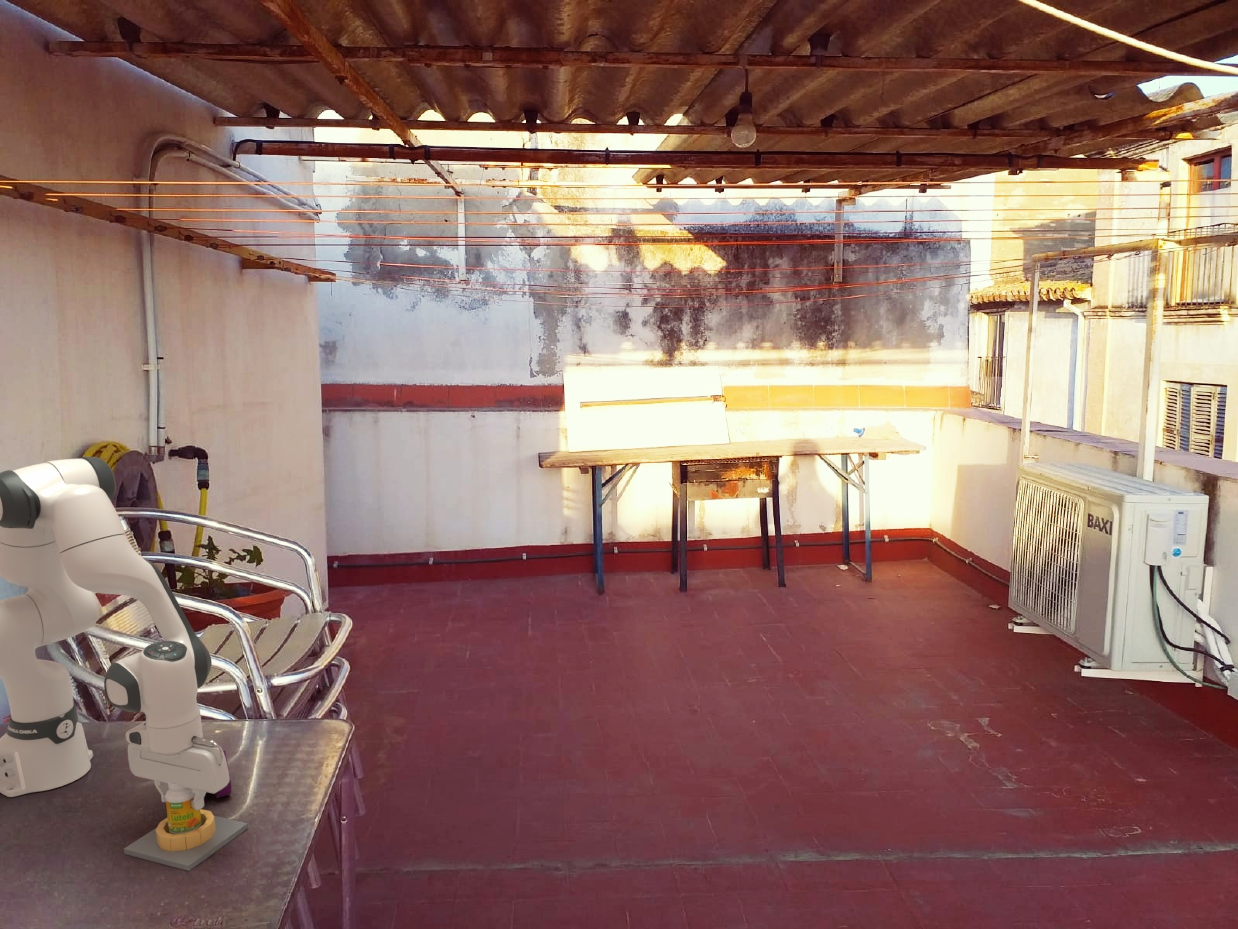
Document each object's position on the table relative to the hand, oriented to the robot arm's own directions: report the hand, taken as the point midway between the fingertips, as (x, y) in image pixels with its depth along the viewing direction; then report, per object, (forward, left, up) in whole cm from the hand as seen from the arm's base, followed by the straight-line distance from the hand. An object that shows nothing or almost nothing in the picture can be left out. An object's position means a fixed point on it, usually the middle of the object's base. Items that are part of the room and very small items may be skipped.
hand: (183, 804), depth 172 cm
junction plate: (0, 0, -7) cm, 7 cm away
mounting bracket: (-13, +15, -8) cm, 22 cm away
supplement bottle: (0, 0, -5) cm, 5 cm away
